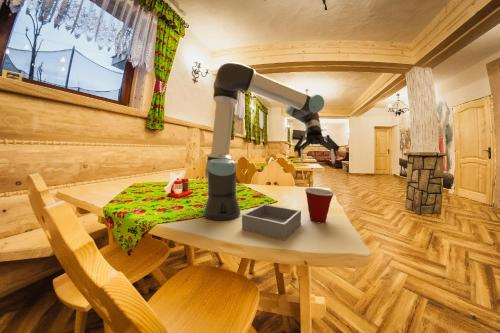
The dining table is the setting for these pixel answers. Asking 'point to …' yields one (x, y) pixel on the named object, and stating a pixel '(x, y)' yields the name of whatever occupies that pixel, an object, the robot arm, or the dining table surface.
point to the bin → (272, 221)
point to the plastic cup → (318, 203)
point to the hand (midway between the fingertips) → (317, 161)
